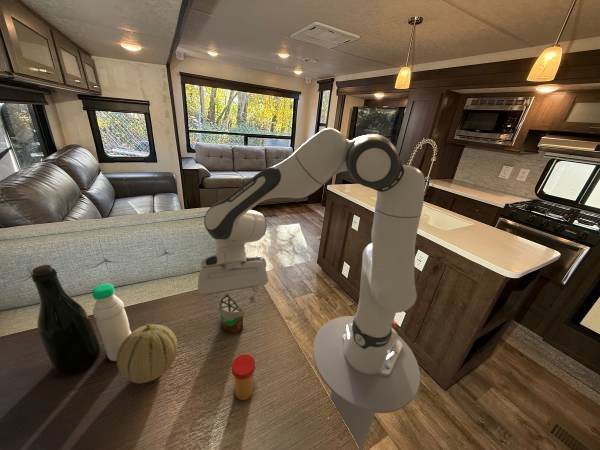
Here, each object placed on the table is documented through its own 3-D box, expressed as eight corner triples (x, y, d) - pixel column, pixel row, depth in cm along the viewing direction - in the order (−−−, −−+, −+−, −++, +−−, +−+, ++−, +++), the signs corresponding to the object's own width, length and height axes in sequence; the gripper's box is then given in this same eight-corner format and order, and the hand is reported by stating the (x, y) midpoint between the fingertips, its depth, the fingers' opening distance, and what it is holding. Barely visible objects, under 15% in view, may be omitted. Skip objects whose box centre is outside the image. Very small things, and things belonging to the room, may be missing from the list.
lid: (228, 376, 63) (227, 372, 63) (237, 356, 69) (237, 352, 68) (250, 382, 63) (250, 377, 62) (257, 361, 68) (258, 356, 67)
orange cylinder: (247, 378, 72) (247, 353, 68) (256, 392, 69) (257, 366, 65) (232, 389, 69) (230, 363, 65) (240, 404, 66) (239, 378, 62)
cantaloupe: (121, 405, 64) (107, 366, 57) (124, 359, 75) (112, 322, 69) (183, 379, 71) (177, 342, 65) (177, 341, 82) (171, 306, 76)
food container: (213, 319, 92) (211, 298, 88) (228, 312, 96) (227, 291, 92) (228, 341, 84) (227, 319, 80) (244, 332, 88) (244, 310, 84)
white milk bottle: (106, 349, 77) (85, 285, 67) (133, 338, 82) (116, 276, 72) (109, 366, 73) (86, 299, 62) (137, 354, 77) (119, 289, 67)
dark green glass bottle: (45, 375, 69) (-5, 278, 56) (77, 344, 78) (41, 255, 65) (82, 378, 69) (41, 282, 56) (109, 346, 78) (80, 258, 65)
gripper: (263, 257, 82) (269, 300, 78) (197, 266, 75) (200, 313, 71) (266, 252, 77) (273, 298, 72) (195, 261, 69) (198, 312, 65)
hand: (236, 305), depth 71 cm, fingers open, 8 cm apart
